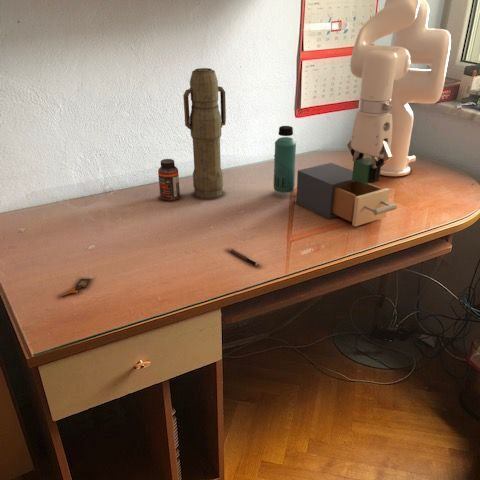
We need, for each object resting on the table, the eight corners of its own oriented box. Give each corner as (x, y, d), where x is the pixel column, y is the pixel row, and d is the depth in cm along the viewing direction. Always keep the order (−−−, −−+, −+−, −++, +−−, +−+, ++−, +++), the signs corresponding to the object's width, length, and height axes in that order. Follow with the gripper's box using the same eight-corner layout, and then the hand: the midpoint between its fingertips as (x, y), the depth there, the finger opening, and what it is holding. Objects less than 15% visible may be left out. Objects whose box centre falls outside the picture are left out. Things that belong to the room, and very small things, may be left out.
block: (365, 175, 144) (367, 157, 142) (379, 180, 141) (381, 161, 138) (351, 179, 142) (353, 160, 139) (365, 184, 139) (367, 165, 136)
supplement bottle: (156, 200, 160) (152, 162, 154) (166, 193, 165) (163, 156, 159) (174, 202, 158) (171, 164, 152) (183, 195, 163) (181, 158, 157)
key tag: (82, 278, 120) (81, 275, 120) (94, 280, 119) (93, 277, 119) (61, 296, 113) (60, 293, 113) (73, 298, 113) (72, 296, 112)
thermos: (184, 193, 165) (176, 69, 145) (218, 186, 169) (215, 65, 150) (197, 202, 158) (190, 73, 139) (232, 195, 163) (230, 69, 144)
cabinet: (362, 208, 153) (366, 175, 148) (329, 218, 147) (332, 184, 142) (328, 194, 163) (331, 162, 158) (296, 202, 157) (297, 170, 152)
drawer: (399, 222, 142) (404, 194, 138) (368, 233, 137) (372, 203, 133) (351, 202, 155) (354, 175, 151) (321, 210, 150) (323, 183, 145)
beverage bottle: (294, 190, 166) (297, 123, 155) (294, 198, 160) (297, 129, 149) (273, 190, 166) (275, 123, 155) (272, 197, 161) (274, 129, 150)
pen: (260, 266, 124) (260, 262, 123) (257, 267, 124) (257, 263, 123) (230, 250, 131) (230, 246, 131) (228, 251, 131) (227, 247, 131)
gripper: (411, 110, 127) (399, 185, 137) (360, 99, 139) (353, 168, 149) (389, 114, 124) (379, 191, 134) (339, 102, 136) (332, 173, 146)
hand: (365, 178), depth 141 cm, fingers closed on block, 5 cm apart
